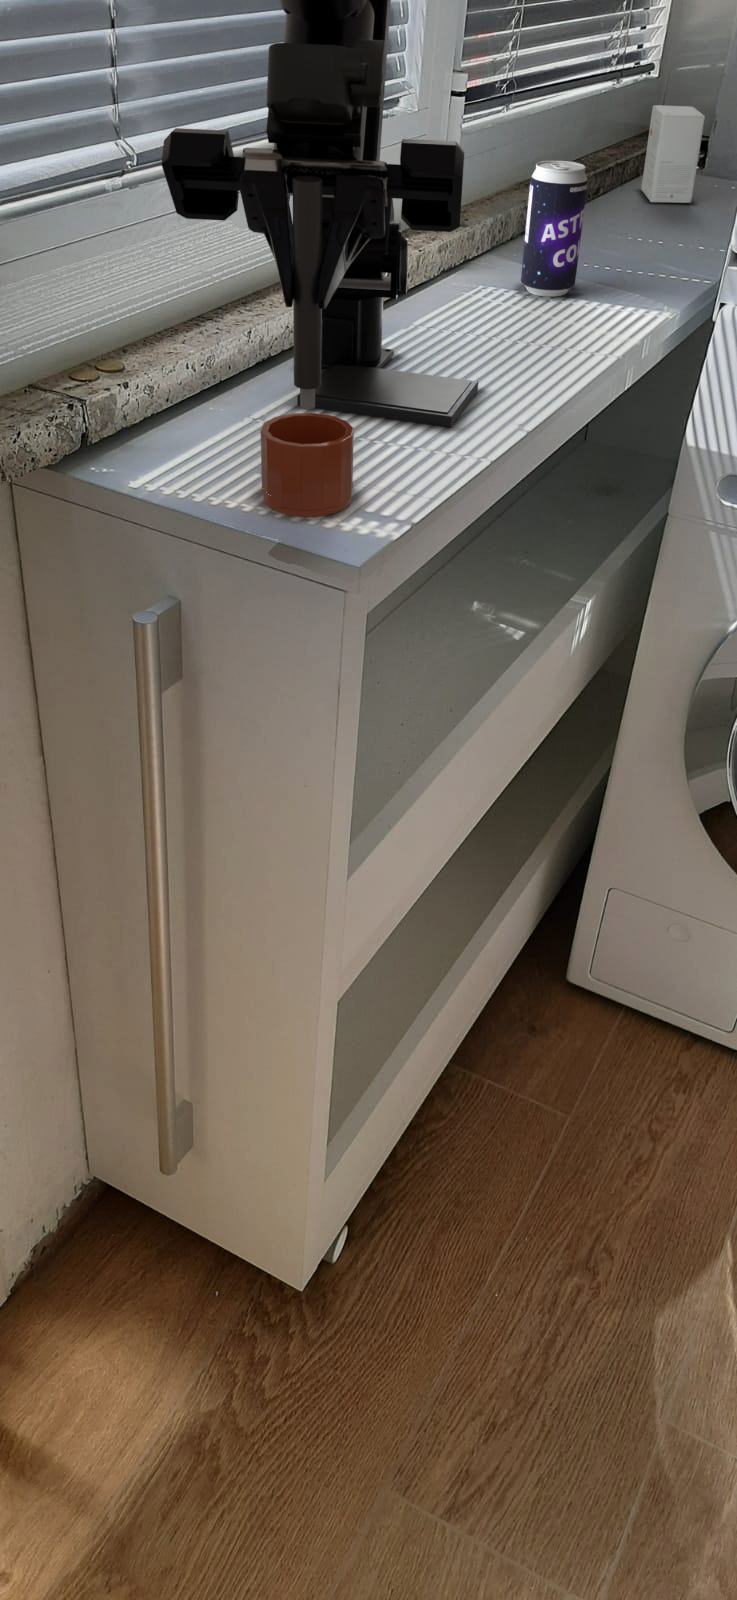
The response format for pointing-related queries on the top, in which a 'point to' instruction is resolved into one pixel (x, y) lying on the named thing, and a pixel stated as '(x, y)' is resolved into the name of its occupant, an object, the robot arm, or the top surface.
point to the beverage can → (553, 227)
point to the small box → (672, 153)
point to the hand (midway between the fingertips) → (304, 304)
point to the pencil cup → (307, 464)
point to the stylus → (307, 286)
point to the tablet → (393, 394)
